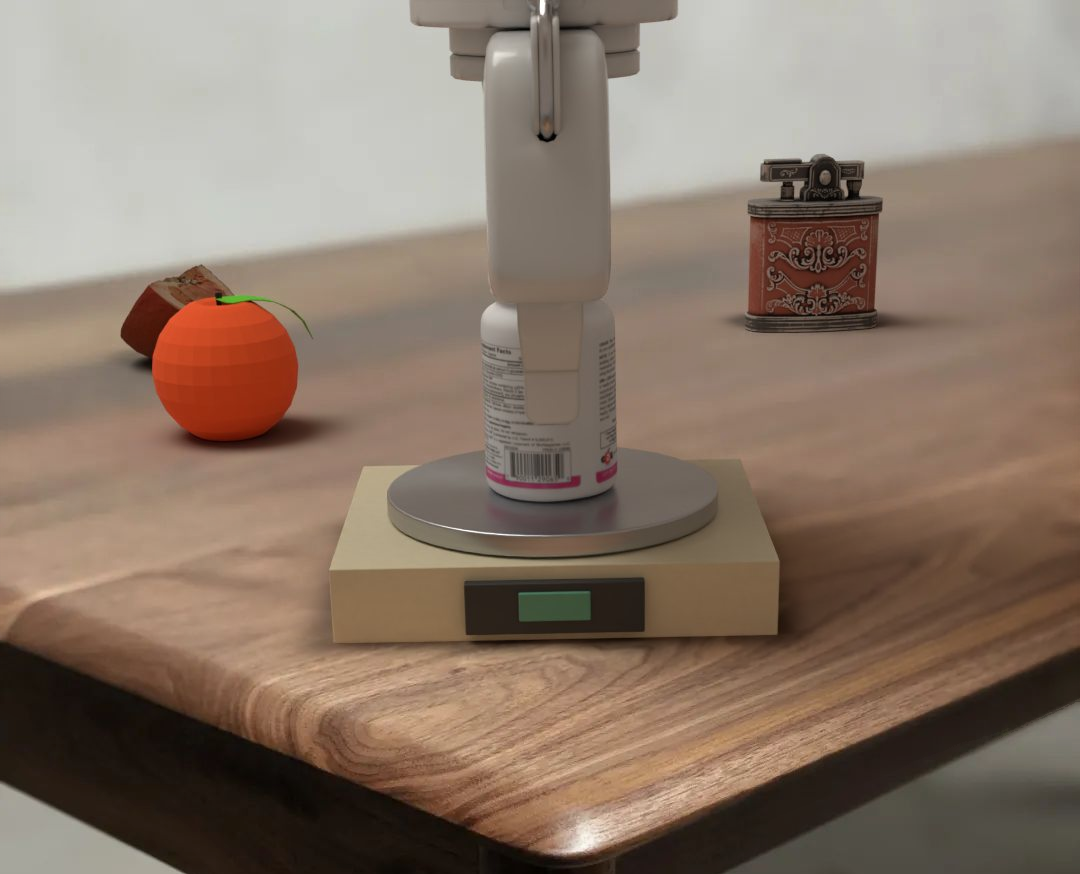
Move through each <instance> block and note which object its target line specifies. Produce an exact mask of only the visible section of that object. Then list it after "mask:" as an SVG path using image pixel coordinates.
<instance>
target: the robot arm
mask: <svg viewBox="0 0 1080 874" xmlns="http://www.w3.org/2000/svg"><path fill="white" fill-rule="evenodd" d="M408 1H409V2H408V4H409V20H410V21H409V22H410V23H411V24H412V25H414V26H417V27H423V28H425V27H426V28H439V29H442V28H444V29H448V42H449V43H448V44H449V45H448V47H449V49H448V50H449V51H450V52H451V54H450V56H449V72H450V73H449V74H450V76H451V77H452V78H453V79H454V80H460V81H465V82H466V81H467V82H481V87H482V88H481V89H482V94H483V132H484V133H483V139H484V173H485V174H484V176H485V178H484V180H485V181H484V182H485V204H486V205H485V215H486V216H485V217H486V247H487V249H486V250H487V273H488V272H489V278H490V285H491V287H490V289H492V292H493V294H492V295H493V296H494V298H495V299H496V300H497V299H498V300H499V301H501V302H504V303H517V325H518V333H519V341H520V349H521V357H522V364H523V374H524V404H525V414H526V416H527V418H528V420H529V421H531V422H532V423H534V424H536V425H541V424H568V423H571V422H573V421H574V420H575V419H576V418H577V417H578V414H579V411H580V406H579V367H580V356H581V345H582V334H583V302H588V301H596V300H601V299H602V298H604V297H605V296H606V294H607V292H608V289H609V285H610V279H611V269H612V268H611V267H612V218H611V217H612V215H611V213H612V212H611V207H612V205H611V144H610V143H611V141H610V140H611V139H610V135H611V134H610V97H609V96H610V91H609V79H619V78H626V77H627V78H628V77H631V76H635V75H638V74H639V72H640V71H641V52H640V51H639V50H638V48H639V47H640V46H641V24H647V23H651V24H652V23H659V22H665V21H667V22H668V21H673V20H675V19H677V17H678V15H679V0H408Z"/></svg>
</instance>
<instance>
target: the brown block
mask: <svg viewBox="0 0 1080 874" xmlns="http://www.w3.org/2000/svg"><path fill="white" fill-rule="evenodd" d="M215 293H222V297H226V296H236V295H235V294H234V292H232V290H231V289H230V288H229V286H227V285H226V284H225V283H224V282H223V281H222V280H221V279H219V278H218V277H217V276H216V275H215V274H214V273H213V272H212V271H211V270H209V269H208V268H206V266H205V265H203V264H199V265H194V266H192V267H191V268H190V269H189V268H188V269H187V270H185V271H184V272H183V273H181V274H180V275H178V276H172V277H165V278H164V279H163V280H161V279H160V280H156V281H154V282H151V283H150V284H148V285H147V286H146V288H145V289H144V290H143V291H142V293H141V294H140V296H138V298H137V299H136V301H135V302H134V304H133V306H132V307H131V309H130V311H129V313H128V314H127V316H126V317H125V319H124V322H123V323H122V325H121V327H120V336H119V337H120V338H121V340H122V341H123V342H124V343H125V344H126V345H127V346H128V347H130V348H131V349H132V350H133V351H135V352H136V353H137V354H139V355H143V356H145V357H148V358H149V359H152V360H153V353H154V350H155V347H156V344H157V340H158V337H159V335H160V333H161V332H162V330H163V329H164V327H165V326H166V324H167V323H168V321H169V319H170V318H172V317H173V316H174V315H175V314H176V313H177V312H179V311H180V310H181V309H182V308H183V307H184V306H186V305H187V304H189V303H191V302H193V301H197V300H200V299H205V298H211V297H215Z"/></svg>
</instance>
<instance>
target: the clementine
mask: <svg viewBox="0 0 1080 874" xmlns="http://www.w3.org/2000/svg"><path fill="white" fill-rule="evenodd" d="M255 301H256V302H257V301H258V302H262V301H263V302H268V303H275V304H277V305H279V306H281V307H284V308H286V309H287V310H289V311H290V312H292V314H294V315H295V317H297V318H298V319H299V320H300V321H301V323H302V324H303V325H304V327H305V329H306V331H307V333H308V334H309V336H310V338H311V339H312V340H314V338H313V336H312V333H311V331H310V329H309V327H308V325H307V323H306V321H305V320H304V319H303V318H302V317H301V316H300V315H299V314H298V313H297V312H296V311H295V309H292V308H290V307H288V306H286V305H285V304H282V303H280V302H277V301H274V300H272V299H269V298H267V297H262V296H257V295H256V296H255V295H245V294H237V295H235V296H226V297H222V293H215V297H211V298H205V299H200V300H197V301H193V302H191V303H189V304H187V305H186V306H184V307H183V308H182V309H181V310H180V311H179V312H177V313H176V314H175V315H174V316H173V317H172V318H170V319H169V321H168V323H167V324H166V326H165V327H164V329H163V330H162V332H161V333H160V335H159V337H158V340H157V344H156V347H155V350H154V353H153V359H152V364H151V365H152V366H151V367H152V369H151V375H152V380H153V385H154V388H155V389H154V390H155V393H156V395H157V397H158V399H159V401H160V402H161V405H162V406H163V408H164V410H165V411H166V412H167V413H168V415H169V416H170V417H171V418H172V419H173V420H174V421H175V422H176V423H177V424H178V425H179V426H180V428H182V429H184V430H185V431H187V432H189V433H191V434H192V435H194V436H195V437H197V438H199V439H203V440H207V441H214V442H235V441H236V442H238V441H244V440H249V439H253V438H256V437H259V436H261V435H264V434H265V433H267V432H268V431H269V430H270V429H272V428H273V427H274V426H275V425H276V424H278V423H279V422H280V421H281V420H282V418H283V417H284V416H285V414H286V413H287V411H288V410H289V408H290V407H291V406H292V404H293V400H294V397H295V395H296V391H297V389H298V380H299V379H298V378H299V377H298V376H299V359H298V356H297V351H296V346H295V343H294V342H293V340H292V338H291V336H290V334H289V332H288V330H287V328H286V327H285V325H283V324H282V323H281V321H280V320H278V318H277V317H276V316H275V315H274V314H273V313H271V312H270V311H269V310H267V309H266V308H264V307H263V306H261V305H260V304H258V303H256V302H255Z"/></svg>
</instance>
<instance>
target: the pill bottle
mask: <svg viewBox="0 0 1080 874" xmlns="http://www.w3.org/2000/svg"><path fill="white" fill-rule="evenodd" d="M487 284H488V286H489V287H490V288H489V291H490V294H491V295H493V292H492V289H491V285H490V278H489V272H488V271H487ZM480 347H481V351H480V352H481V374H482V399H483V422H484V423H483V425H484V426H483V427H484V450H485V453H486V475H487V482H488V484H489V486H490V487H491V488H492V489H493V490H494V491H496V492H497V493H499V494H501V495H503V496H506V497H509V498H512V499H517V500H523V501H533V502H555V501H566V500H573V499H579V498H585V497H590V496H594V495H597V494H600V493H602V492H605V491H606V490H608V489H609V488H611V487H612V486H613V485H614V483H615V481H616V477H617V447H618V440H617V439H618V438H617V437H618V435H617V431H618V430H617V424H618V423H617V378H616V377H617V368H616V366H617V363H616V361H617V359H616V357H617V356H616V355H617V353H616V352H617V351H616V321H615V314H614V311H613V309H612V308H611V307H610V305H608V304H607V302H605V301H603V300H601V299H599V300H596V301H588V302H583V334H582V345H581V356H580V367H579V406H580V411H579V414H578V417H577V418H576V419H575V420H574V421H573V422H571V423H568V424H541V425H536V424H534V423H532V422H531V421H529V420H528V418H527V416H526V414H525V404H524V374H523V364H522V357H521V349H520V341H519V333H518V325H517V303H504V302H501V301H499V300H498V299H496V301H495V302H493V303H491V304H490V305H489V306H487V307H486V309H485V310H484V311H483V312H482V315H481V317H480Z"/></svg>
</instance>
